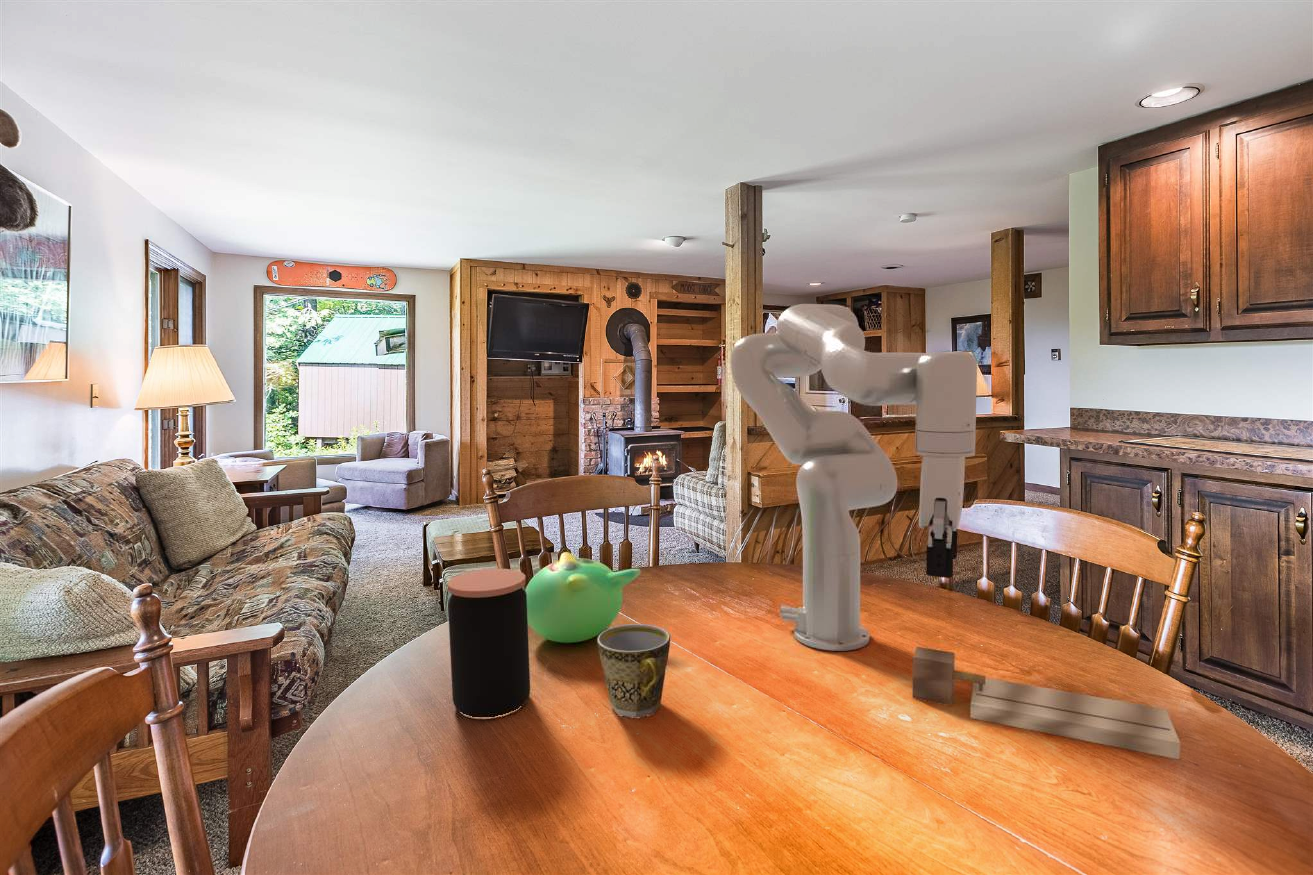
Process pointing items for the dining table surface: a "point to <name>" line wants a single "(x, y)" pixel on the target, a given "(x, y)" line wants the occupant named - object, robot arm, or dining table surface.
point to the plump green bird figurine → (575, 598)
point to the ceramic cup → (634, 667)
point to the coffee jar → (489, 642)
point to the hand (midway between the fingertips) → (942, 566)
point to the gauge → (938, 676)
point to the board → (1076, 716)
